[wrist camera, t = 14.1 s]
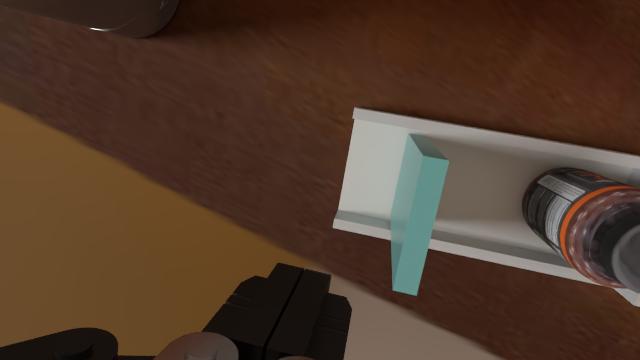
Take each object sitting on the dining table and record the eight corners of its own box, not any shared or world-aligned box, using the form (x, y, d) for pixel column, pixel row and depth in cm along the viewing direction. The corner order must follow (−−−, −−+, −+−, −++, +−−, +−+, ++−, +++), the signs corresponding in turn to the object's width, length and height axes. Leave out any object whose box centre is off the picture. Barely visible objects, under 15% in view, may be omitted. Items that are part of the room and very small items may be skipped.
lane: (338, 215, 34) (328, 238, 28) (357, 107, 32) (351, 108, 26) (601, 270, 31) (650, 308, 25) (642, 155, 29) (706, 169, 23)
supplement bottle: (618, 182, 29) (760, 232, 18) (577, 250, 30) (686, 334, 19) (541, 153, 29) (633, 183, 18) (505, 221, 31) (570, 287, 20)
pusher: (390, 215, 32) (392, 289, 19) (408, 133, 30) (423, 155, 18) (404, 218, 32) (416, 295, 19) (423, 135, 30) (449, 160, 18)
